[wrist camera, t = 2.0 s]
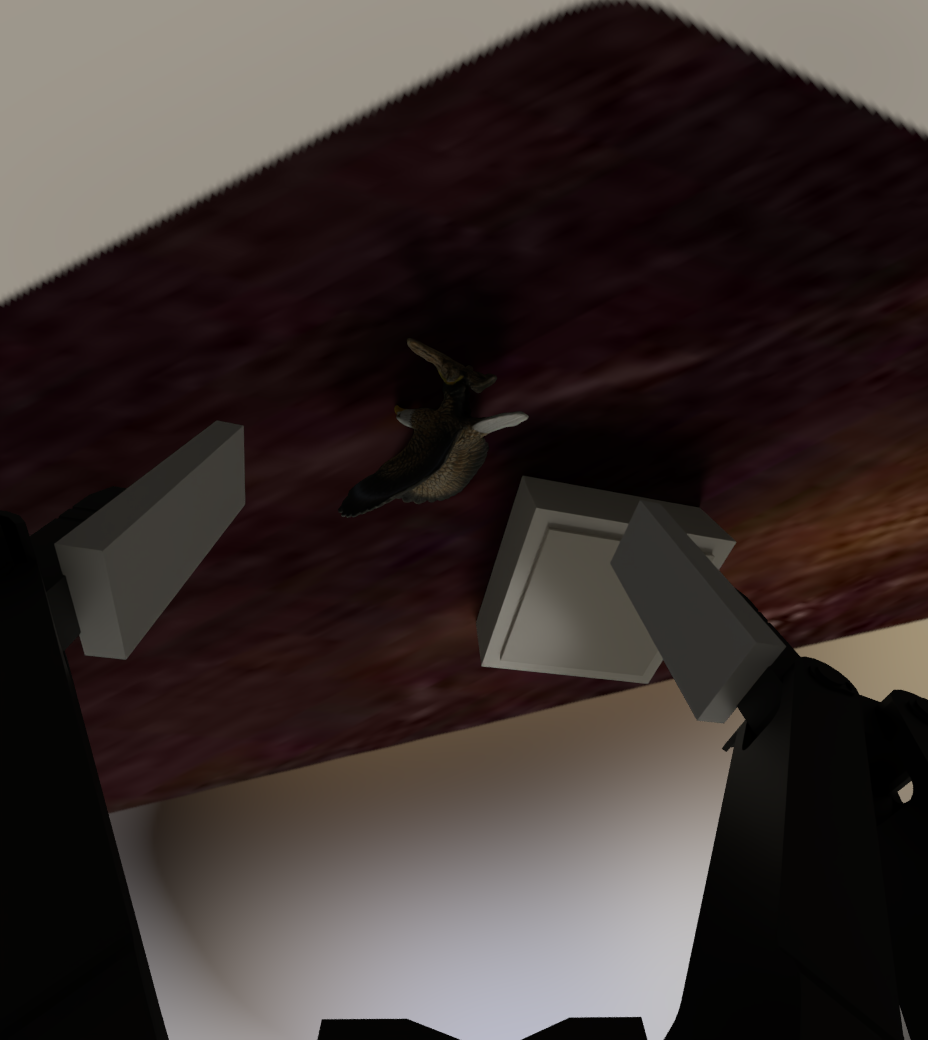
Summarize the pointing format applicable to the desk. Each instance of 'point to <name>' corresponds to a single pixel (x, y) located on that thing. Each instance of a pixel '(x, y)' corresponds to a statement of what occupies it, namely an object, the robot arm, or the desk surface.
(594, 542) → the tray
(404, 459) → the eagle figurine
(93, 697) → the desk surface
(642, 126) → the desk surface
